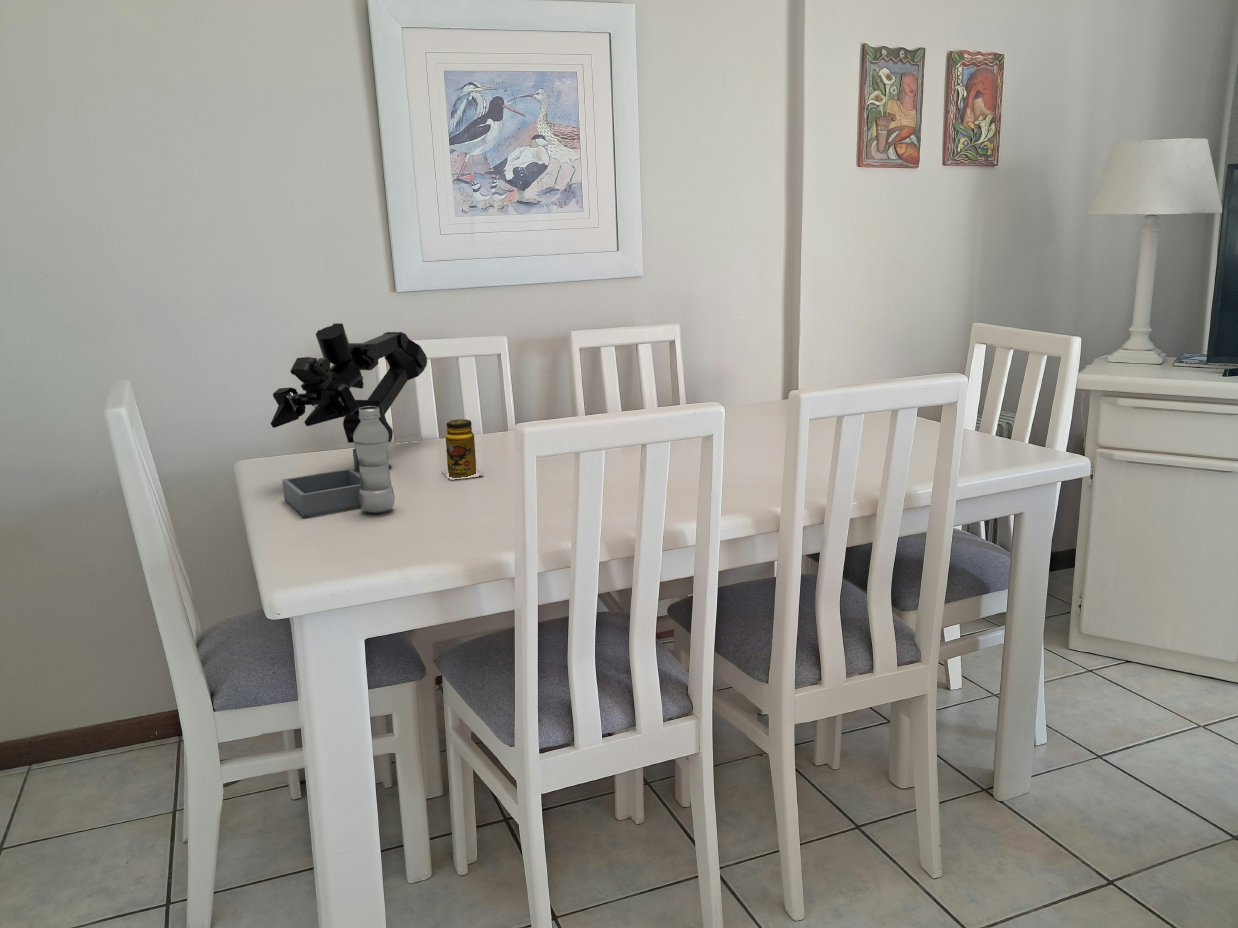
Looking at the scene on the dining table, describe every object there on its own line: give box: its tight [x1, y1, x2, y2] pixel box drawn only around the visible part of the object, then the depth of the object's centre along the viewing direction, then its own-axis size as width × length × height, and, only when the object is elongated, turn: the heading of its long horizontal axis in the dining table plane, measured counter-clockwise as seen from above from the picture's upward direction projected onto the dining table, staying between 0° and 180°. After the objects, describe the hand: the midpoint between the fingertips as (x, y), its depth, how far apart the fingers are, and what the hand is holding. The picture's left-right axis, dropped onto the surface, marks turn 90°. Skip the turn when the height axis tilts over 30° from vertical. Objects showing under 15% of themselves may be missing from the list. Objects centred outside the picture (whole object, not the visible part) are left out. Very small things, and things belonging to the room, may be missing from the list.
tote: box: [281, 468, 362, 519], centre depth 181 cm, size 14×14×4 cm
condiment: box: [445, 418, 477, 478], centre depth 199 cm, size 7×8×12 cm
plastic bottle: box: [353, 406, 396, 514], centre depth 173 cm, size 6×7×20 cm
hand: (288, 425), depth 180 cm, fingers open, 9 cm apart
